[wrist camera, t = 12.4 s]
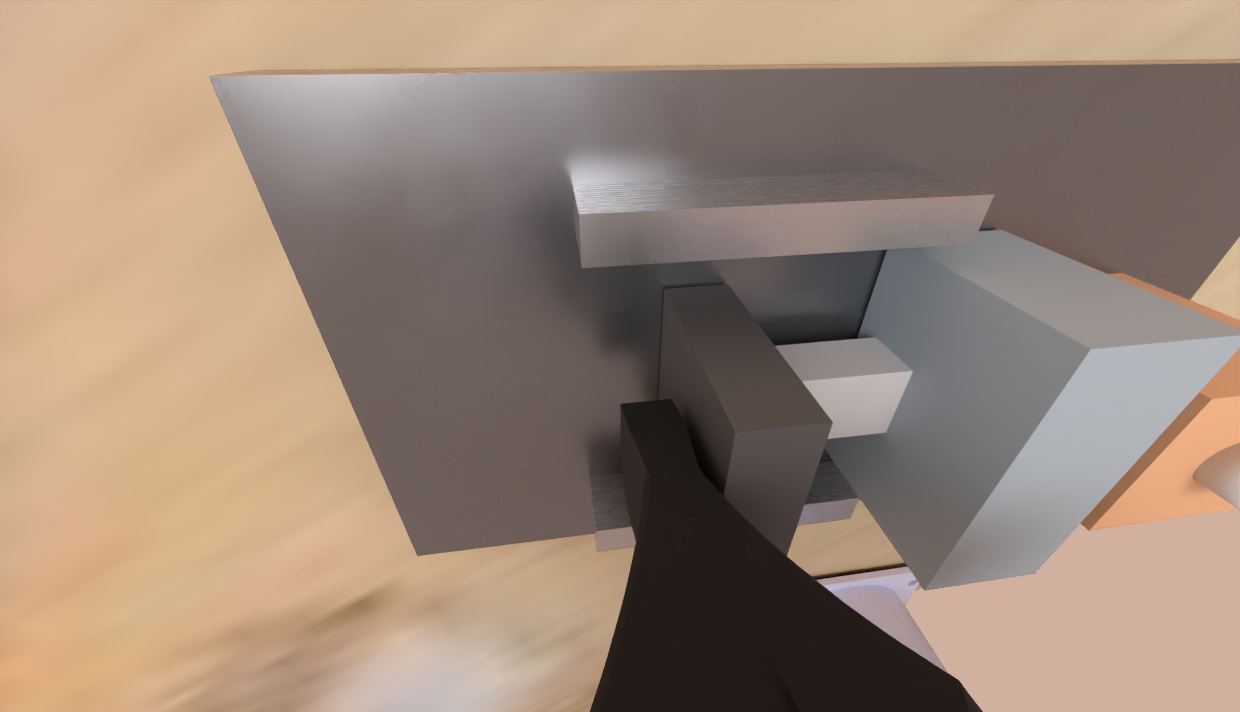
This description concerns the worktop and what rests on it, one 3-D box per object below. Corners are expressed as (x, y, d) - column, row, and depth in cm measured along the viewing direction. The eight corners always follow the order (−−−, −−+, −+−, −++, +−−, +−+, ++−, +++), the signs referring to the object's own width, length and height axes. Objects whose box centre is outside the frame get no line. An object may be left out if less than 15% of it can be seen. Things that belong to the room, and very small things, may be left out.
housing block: (1049, 384, 15) (1286, 546, 10) (939, 396, 15) (1133, 570, 10) (1122, 272, 13) (1469, 413, 8) (995, 282, 13) (1282, 437, 8)
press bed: (1021, 447, 20) (1102, 517, 17) (426, 518, 17) (403, 615, 14) (1289, 59, 12) (1529, 65, 9) (253, 71, 9) (121, 85, 6)
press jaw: (905, 433, 16) (1034, 573, 12) (654, 460, 15) (699, 624, 11) (1001, 229, 12) (1251, 333, 8) (666, 249, 11) (745, 381, 7)
